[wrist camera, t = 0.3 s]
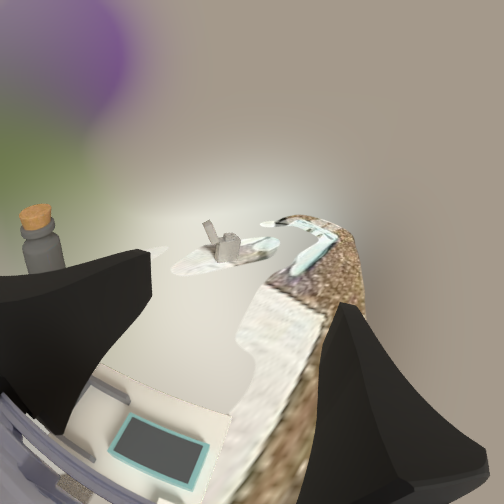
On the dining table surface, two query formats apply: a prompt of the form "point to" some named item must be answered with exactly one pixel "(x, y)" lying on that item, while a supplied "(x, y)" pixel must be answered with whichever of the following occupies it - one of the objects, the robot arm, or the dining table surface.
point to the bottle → (40, 240)
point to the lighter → (223, 244)
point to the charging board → (150, 408)
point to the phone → (159, 452)
